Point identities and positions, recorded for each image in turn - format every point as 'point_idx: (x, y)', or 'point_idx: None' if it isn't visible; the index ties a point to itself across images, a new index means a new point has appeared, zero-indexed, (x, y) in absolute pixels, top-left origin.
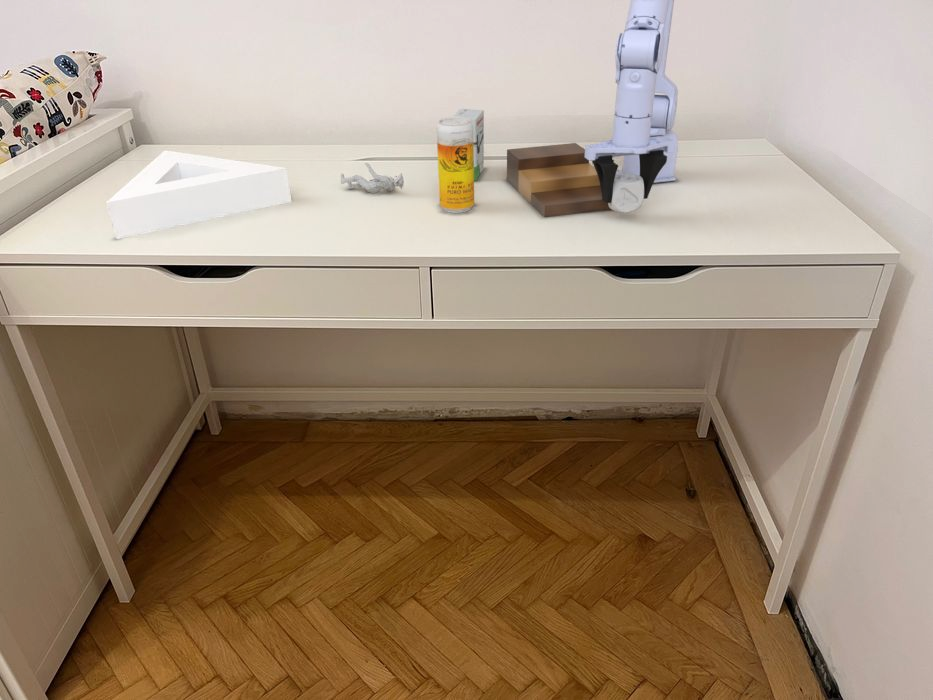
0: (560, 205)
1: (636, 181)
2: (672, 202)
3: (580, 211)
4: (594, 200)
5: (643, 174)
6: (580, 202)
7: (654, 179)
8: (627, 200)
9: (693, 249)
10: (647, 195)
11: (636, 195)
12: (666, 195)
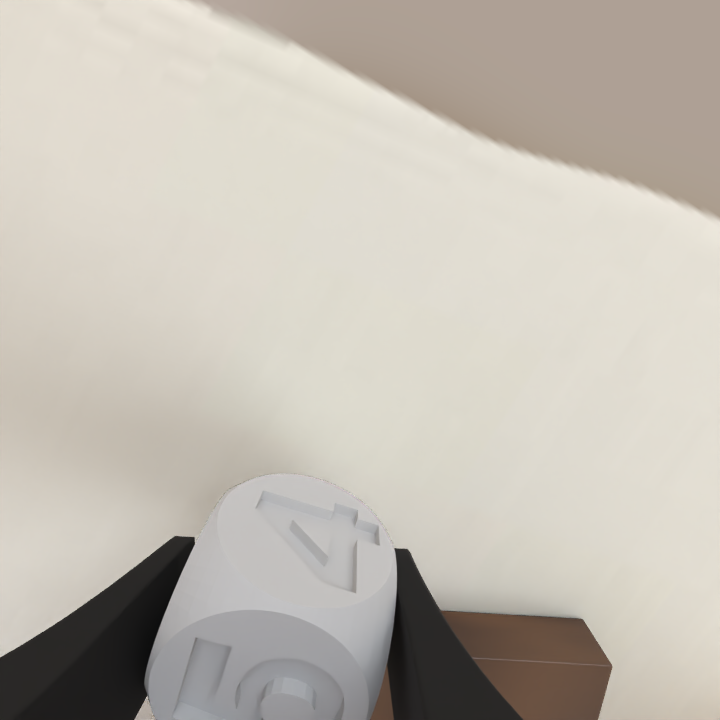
0: (536, 655)
1: (230, 613)
2: (28, 584)
3: None
4: None
5: (111, 711)
6: None
7: (67, 619)
8: (309, 523)
9: (173, 80)
10: (168, 544)
11: (259, 521)
12: None
